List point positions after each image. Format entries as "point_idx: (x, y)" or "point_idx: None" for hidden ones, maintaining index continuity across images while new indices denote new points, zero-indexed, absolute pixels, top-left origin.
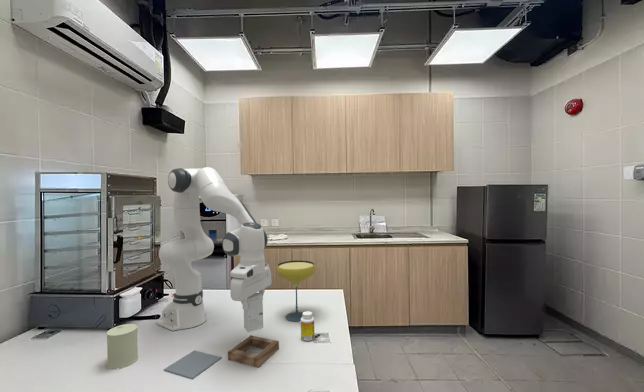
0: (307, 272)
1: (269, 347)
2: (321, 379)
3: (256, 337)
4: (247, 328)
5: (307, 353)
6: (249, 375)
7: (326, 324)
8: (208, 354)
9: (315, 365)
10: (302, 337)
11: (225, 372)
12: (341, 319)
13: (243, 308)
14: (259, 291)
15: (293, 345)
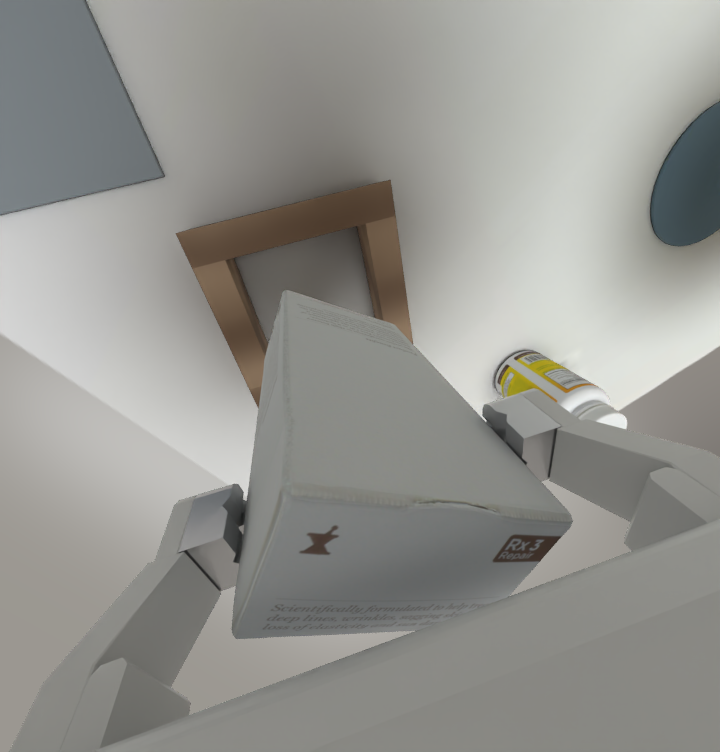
0: None
1: None
2: None
3: (388, 241)
4: (264, 368)
5: None
6: (206, 403)
7: (636, 352)
8: (97, 44)
9: None
10: (502, 377)
11: (130, 315)
12: (681, 368)
13: (182, 514)
14: (649, 466)
15: (451, 370)
